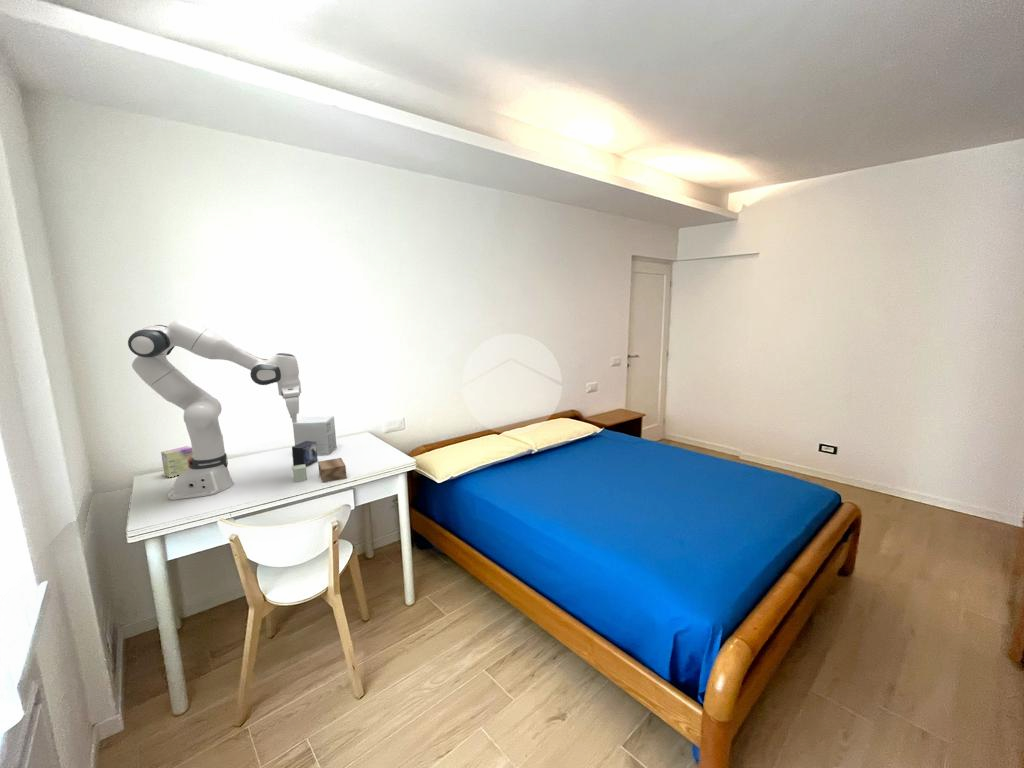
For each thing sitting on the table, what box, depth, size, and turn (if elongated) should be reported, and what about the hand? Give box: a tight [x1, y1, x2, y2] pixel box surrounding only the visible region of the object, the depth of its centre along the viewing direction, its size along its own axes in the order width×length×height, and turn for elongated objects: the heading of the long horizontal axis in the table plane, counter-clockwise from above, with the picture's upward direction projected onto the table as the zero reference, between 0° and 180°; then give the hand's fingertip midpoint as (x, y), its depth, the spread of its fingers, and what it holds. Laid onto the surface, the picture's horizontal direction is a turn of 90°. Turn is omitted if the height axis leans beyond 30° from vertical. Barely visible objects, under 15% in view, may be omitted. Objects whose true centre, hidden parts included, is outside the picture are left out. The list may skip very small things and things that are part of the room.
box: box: [160, 445, 193, 479], centre depth 198 cm, size 10×6×12 cm, turn 149°
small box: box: [291, 441, 319, 468], centre depth 209 cm, size 11×6×10 cm, turn 168°
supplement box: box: [292, 415, 338, 456], centre depth 227 cm, size 17×13×18 cm
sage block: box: [292, 464, 308, 483], centre depth 190 cm, size 5×5×6 cm
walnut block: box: [317, 457, 347, 483], centre depth 194 cm, size 10×12×6 cm
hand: (293, 420), depth 188 cm, fingers open, 8 cm apart
